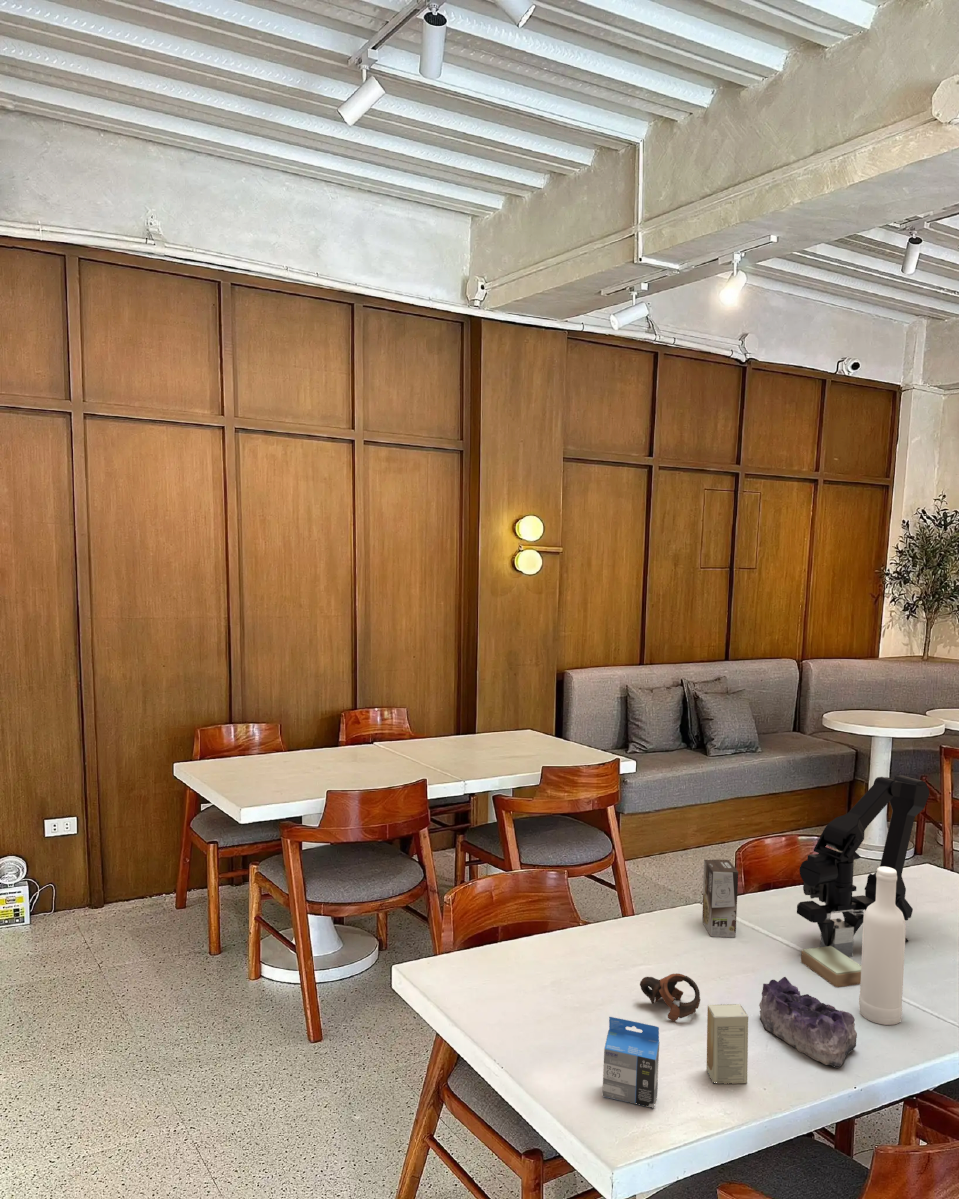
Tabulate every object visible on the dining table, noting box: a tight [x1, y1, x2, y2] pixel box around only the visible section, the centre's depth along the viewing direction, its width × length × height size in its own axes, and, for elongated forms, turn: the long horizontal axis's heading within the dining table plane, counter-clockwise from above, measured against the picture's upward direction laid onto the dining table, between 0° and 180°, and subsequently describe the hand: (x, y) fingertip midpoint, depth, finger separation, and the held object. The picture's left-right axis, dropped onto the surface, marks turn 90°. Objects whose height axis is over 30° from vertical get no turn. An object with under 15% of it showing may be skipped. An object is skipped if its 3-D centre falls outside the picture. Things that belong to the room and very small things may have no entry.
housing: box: [819, 918, 855, 958], centre depth 206 cm, size 5×5×7 cm
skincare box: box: [706, 1003, 749, 1085], centre depth 155 cm, size 6×4×12 cm
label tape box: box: [602, 1016, 660, 1109], centre depth 149 cm, size 9×4×12 cm, turn 69°
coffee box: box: [702, 859, 739, 938], centre depth 217 cm, size 9×6×16 cm
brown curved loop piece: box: [639, 973, 701, 1022], centre depth 178 cm, size 12×10×8 cm
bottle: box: [858, 866, 907, 1026], centre depth 177 cm, size 8×8×30 cm
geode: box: [758, 976, 858, 1069], centre depth 168 cm, size 20×12×10 cm, turn 34°
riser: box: [800, 946, 861, 988], centre depth 196 cm, size 8×12×3 cm, turn 16°
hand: (836, 944), depth 206 cm, fingers closed on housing, 5 cm apart
